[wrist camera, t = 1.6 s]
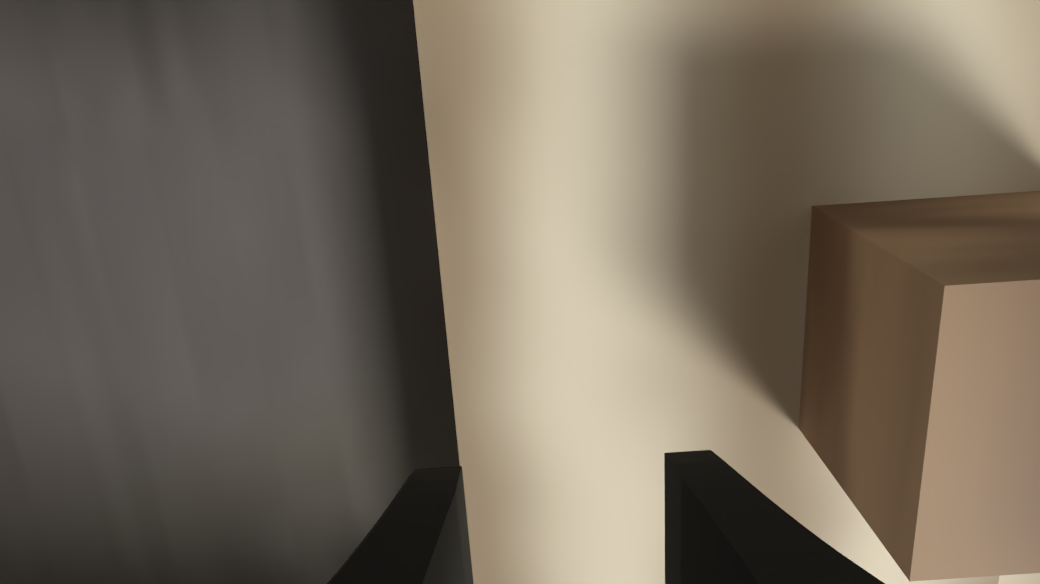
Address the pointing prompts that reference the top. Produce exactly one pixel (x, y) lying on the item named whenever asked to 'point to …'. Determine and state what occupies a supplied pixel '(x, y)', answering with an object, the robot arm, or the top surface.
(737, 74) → the wooden tray
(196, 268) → the top surface
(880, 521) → the walnut block
